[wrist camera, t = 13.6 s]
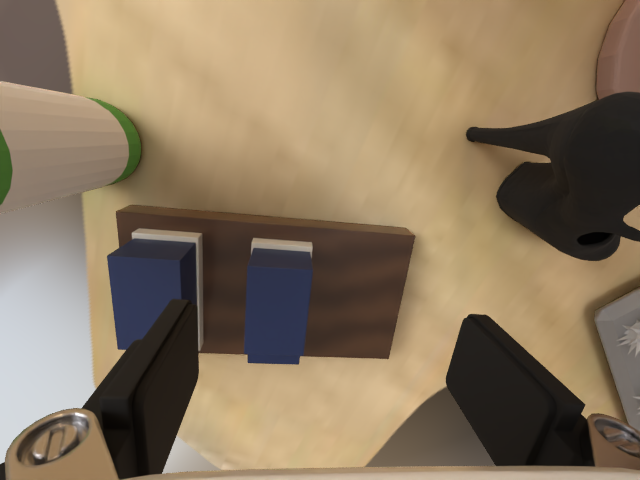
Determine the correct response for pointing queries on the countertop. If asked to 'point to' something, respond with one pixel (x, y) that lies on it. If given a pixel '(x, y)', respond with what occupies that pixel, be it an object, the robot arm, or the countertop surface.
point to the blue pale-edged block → (277, 300)
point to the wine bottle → (60, 145)
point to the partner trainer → (154, 280)
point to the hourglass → (620, 53)
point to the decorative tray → (623, 349)
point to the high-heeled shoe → (575, 175)
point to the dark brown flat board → (327, 281)
